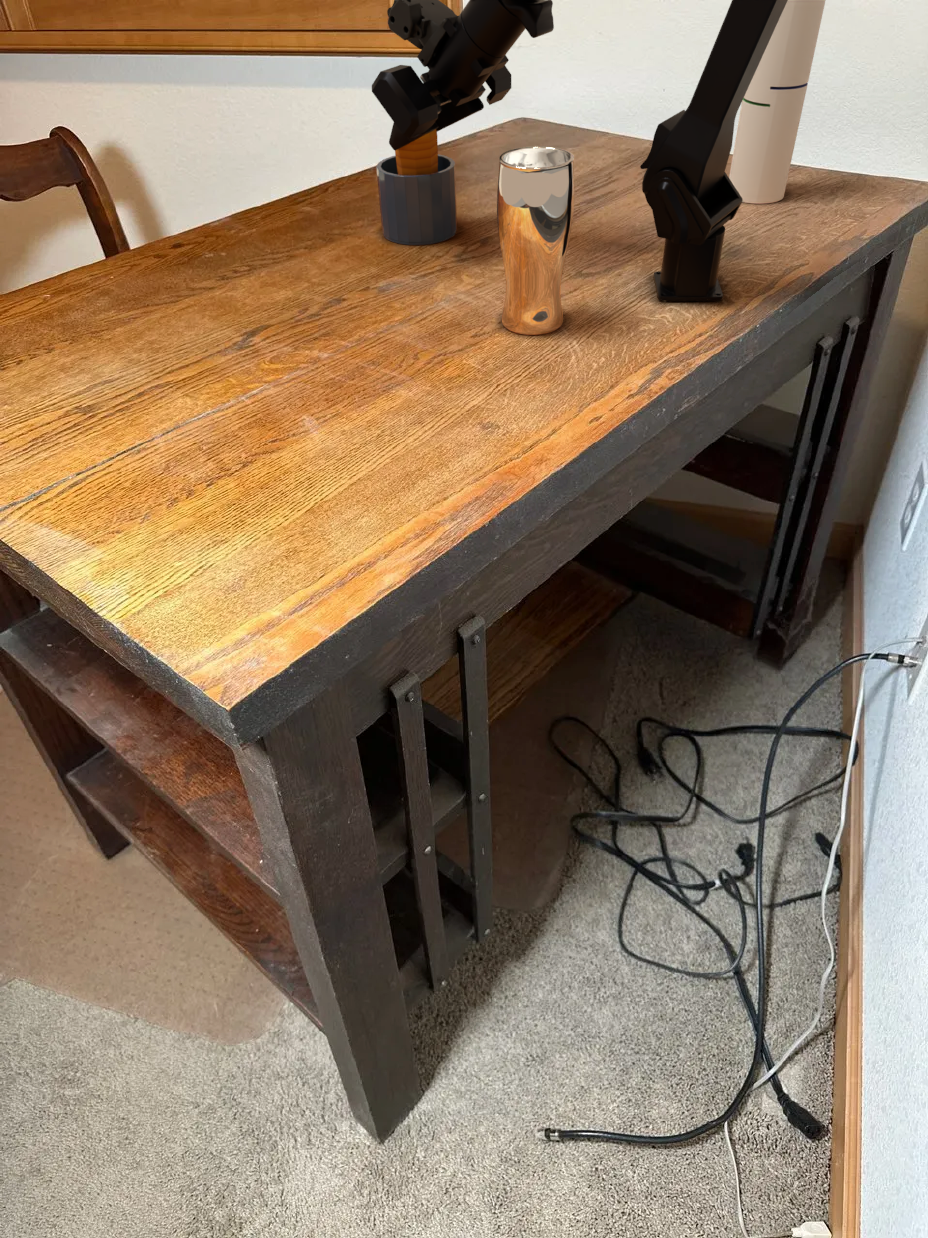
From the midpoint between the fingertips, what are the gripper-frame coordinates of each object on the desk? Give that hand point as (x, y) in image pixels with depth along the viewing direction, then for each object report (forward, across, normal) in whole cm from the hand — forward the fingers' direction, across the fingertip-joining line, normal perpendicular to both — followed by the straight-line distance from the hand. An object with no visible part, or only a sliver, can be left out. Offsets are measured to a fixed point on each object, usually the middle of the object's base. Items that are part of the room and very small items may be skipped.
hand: (406, 140), depth 99 cm
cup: (+6, 0, +8) cm, 10 cm away
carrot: (+6, 0, +8) cm, 10 cm away
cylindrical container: (-14, -32, +29) cm, 46 cm away
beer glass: (-11, +15, +26) cm, 31 cm away
